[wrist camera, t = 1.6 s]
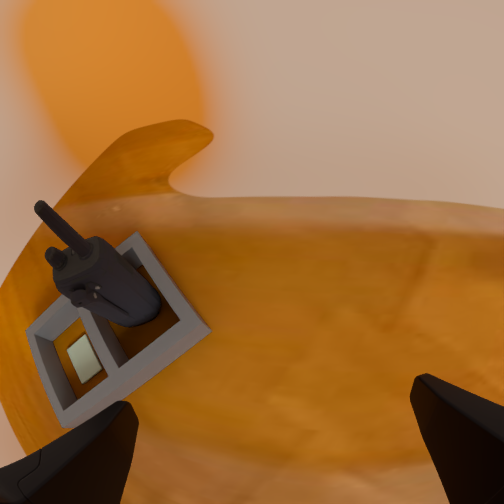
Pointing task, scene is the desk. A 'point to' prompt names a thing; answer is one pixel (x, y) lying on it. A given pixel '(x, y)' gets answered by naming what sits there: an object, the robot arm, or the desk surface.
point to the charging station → (109, 345)
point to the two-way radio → (98, 275)
